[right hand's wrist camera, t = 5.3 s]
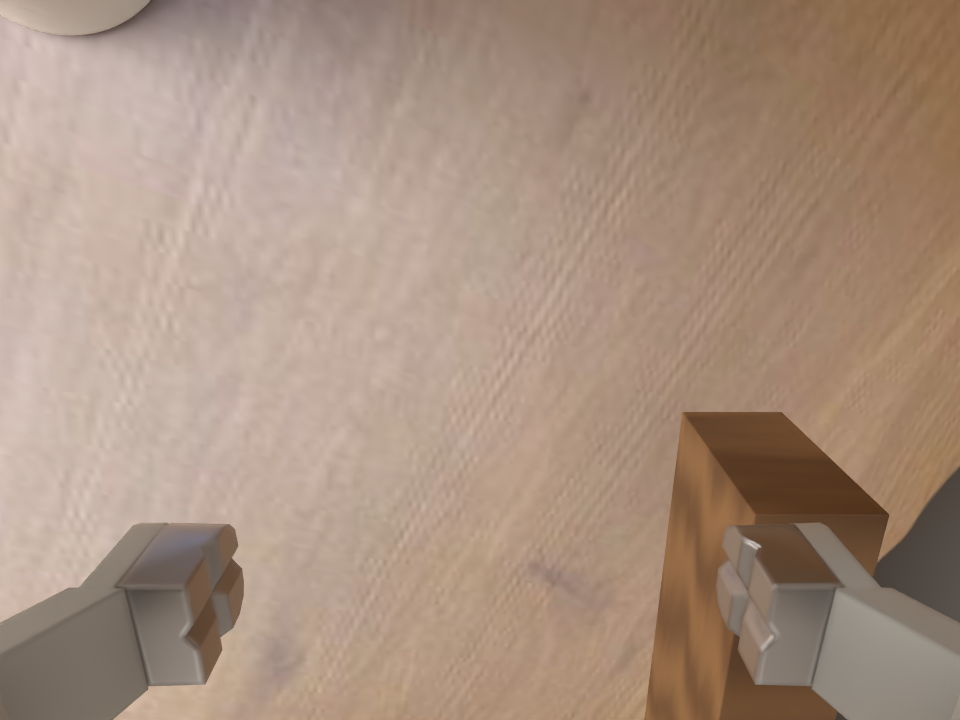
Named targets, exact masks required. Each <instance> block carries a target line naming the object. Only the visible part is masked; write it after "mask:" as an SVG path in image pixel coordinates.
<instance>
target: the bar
mask: <svg viewBox="0 0 960 720" xmlns="http://www.w3.org/2000/svg"><path fill="white" fill-rule="evenodd" d="M888 518H889V514H888V513H887V512H886V511H885V510H884V509H883V508H882V507H881V506H880V505H879V504H878V503H877V502H875V501H874V500H873V499H872V498H871V497H870V496H869V495H868V494H867V493H866V492H865V491H864V490H863V489H862V488H861V487H860V486H859V485H858V484H857V483H855V482H854V481H853V480H852V479H851V478H850V477H849V476H848V475H847V474H846V473H845V472H844V471H843V470H842V469H841V468H840V467H839V466H838V465H837V464H835V463H834V462H833V461H832V460H831V459H830V458H829V457H828V456H827V455H826V454H825V453H824V452H823V451H822V450H821V449H820V448H819V447H818V446H817V445H815V444H814V443H813V442H812V441H811V440H810V439H809V438H808V437H807V436H806V435H805V434H804V433H803V432H802V431H801V430H800V429H799V428H798V427H797V426H795V425H794V424H793V423H792V422H791V421H790V420H789V419H788V418H787V417H786V416H785V415H784V414H783V413H782V412H683V413H682V420H681V429H680V437H679V445H678V453H677V461H676V469H675V477H674V485H673V493H672V501H671V510H670V518H669V526H668V534H667V542H666V550H665V558H664V566H663V574H662V582H661V591H660V599H659V607H658V615H657V623H656V631H655V639H654V647H653V655H652V663H651V671H650V680H649V688H648V696H647V704H646V712H645V720H835V718H836V714H837V710H836V709H835V708H833V707H832V706H831V705H830V704H829V703H828V702H826V701H825V700H824V699H823V698H822V697H821V696H819V695H818V694H817V693H816V692H815V691H814V690H812V686H790V685H755V684H754V682H753V680H752V678H751V676H750V674H749V672H748V670H747V668H746V666H745V664H744V662H743V660H742V658H741V656H740V654H739V652H738V645H739V639H740V637H739V636H737V635H736V634H735V633H733V632H732V631H731V630H729V629H728V628H727V627H726V625H725V623H724V621H723V618H722V616H721V613H720V610H719V606H718V602H717V591H716V582H717V573H718V568H719V567H720V566H721V565H722V564H723V563H724V562H725V561H726V560H727V559H728V556H727V555H726V553H725V551H724V549H723V548H722V542H723V536H724V532H725V530H726V528H727V526H728V525H770V524H790V523H822V524H824V525H826V526H828V527H829V529H830V530H831V531H832V532H833V533H834V534H835V535H836V537H837V538H838V539H839V540H840V541H841V542H842V543H843V545H844V546H845V547H846V548H847V549H848V550H849V551H850V553H851V554H852V555H853V556H854V557H855V558H856V559H857V561H858V562H859V563H860V564H861V565H862V566H863V567H864V569H865V570H866V571H867V572H868V573H869V574H870V575H871V577H872V578H873V575H874V571H875V567H876V563H877V560H878V556H879V552H880V548H881V545H882V541H883V537H884V533H885V529H886V526H887V522H888Z"/></svg>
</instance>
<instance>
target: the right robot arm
mask: <svg viewBox="0 0 960 720" xmlns="http://www.w3.org/2000/svg"><path fill="white" fill-rule="evenodd" d="M150 1H151V0H0V15H1V16H3V17H5V18H7V19H9V20H11V21H13V22H15V23H17V24H20V25H22V26H25V27H27V28H30V29H33V30H37V31H41V32H45V33H50V34H56V35H70V36H73V35H87V34H93V33H98V32H101V31H105V30H108V29H111V28H113V27H115V26H118V25H120V24H122V23H123V22H125V21H127V20H128V19H130V18H132V17H133V16H134V15H136V14H137V13H138V12H140V11H141V10H142V9H143V8H144V7H145V6H146V5H147V4H148V3H149V2H150ZM237 548H238V542H237V537H236V532H235V529H234V528H233V527H232V526H231V525H230V524H192V523H170V524H168V523H140V524H137V525H134V526H132V527H131V529H130V530H129V531H128V532H127V533H126V534H125V535H124V537H123V538H122V539H121V540H120V541H119V542H118V543H117V545H116V546H115V547H114V548H113V549H112V550H111V551H110V553H109V554H108V555H107V556H106V557H105V558H104V559H103V561H102V562H101V563H100V564H99V565H98V566H97V567H96V569H95V570H94V571H93V572H92V573H91V574H90V575H89V577H88V578H87V579H86V580H85V581H84V582H83V583H82V585H81V586H80V587H79V588H68V589H66V590H64V591H62V592H60V593H58V594H56V595H54V596H52V597H50V598H48V599H46V600H44V601H42V602H40V603H38V604H36V605H34V606H32V607H30V608H28V609H26V610H24V611H22V612H21V613H19V614H17V615H15V616H13V617H11V618H9V619H7V620H5V621H3V622H1V623H0V720H113V719H114V718H115V717H116V716H117V715H119V714H120V713H121V712H122V711H123V710H124V709H126V708H127V707H128V706H129V705H130V704H132V703H133V702H134V701H135V700H136V699H137V698H139V697H140V696H141V695H142V694H143V693H144V692H146V691H147V690H148V686H170V685H204V684H206V682H207V680H208V678H209V676H210V674H211V672H212V670H213V668H214V666H215V664H216V662H217V660H218V658H219V656H220V654H221V652H222V645H221V639H220V637H221V636H223V635H224V634H225V633H227V632H228V631H229V630H231V629H232V628H233V627H234V625H235V623H236V620H237V618H238V616H239V614H240V610H241V605H242V600H243V596H244V580H243V573H242V568H241V567H240V566H239V565H238V564H237V563H236V562H235V561H234V560H233V559H232V556H233V555H234V553H235V551H236V549H237ZM722 548H723V549H724V551H725V553H726V555H727V556H728V559H727V560H726V561H725V562H724V563H723V564H722V565H721V566H720V567H719V568H718V573H717V582H716V591H717V602H718V606H719V610H720V613H721V616H722V618H723V621H724V623H725V625H726V627H727V628H728V629H729V630H731V631H732V632H733V633H735V634H736V635H737V636H739V637H740V639H739V645H738V652H739V654H740V656H741V658H742V660H743V662H744V664H745V666H746V668H747V670H748V672H749V674H750V676H751V678H752V680H753V682H754V684H755V685H790V686H812V690H814V691H815V692H816V693H817V694H818V695H819V696H821V697H822V698H823V699H824V700H825V701H826V702H828V703H829V704H830V705H831V706H832V707H833V708H835V709H836V710H837V711H838V712H839V713H841V714H842V715H843V716H844V717H845V718H846V719H848V720H960V623H959V622H957V621H955V620H953V619H951V618H949V617H947V616H945V615H943V614H941V613H939V612H937V611H935V610H933V609H932V608H930V607H928V606H926V605H924V604H922V603H920V602H918V601H916V600H914V599H912V598H910V597H908V596H906V595H904V594H902V593H900V592H898V591H896V590H894V589H892V588H881V587H880V586H879V585H878V584H877V582H876V581H875V580H874V579H873V578H872V577H871V575H870V574H869V573H868V572H867V571H866V570H865V569H864V567H863V566H862V565H861V564H860V563H859V562H858V561H857V559H856V558H855V557H854V556H853V555H852V554H851V553H850V551H849V550H848V549H847V548H846V547H845V546H844V545H843V543H842V542H841V541H840V540H839V539H838V538H837V537H836V535H835V534H834V533H833V532H832V531H831V530H830V529H829V527H828V526H826V525H824V524H822V523H790V524H770V525H728V526H727V528H726V530H725V532H724V536H723V542H722Z"/></svg>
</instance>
